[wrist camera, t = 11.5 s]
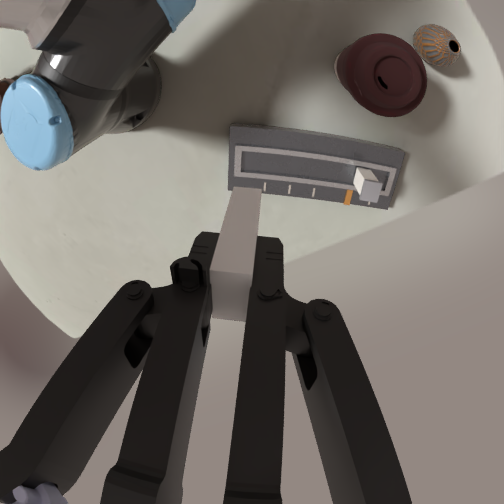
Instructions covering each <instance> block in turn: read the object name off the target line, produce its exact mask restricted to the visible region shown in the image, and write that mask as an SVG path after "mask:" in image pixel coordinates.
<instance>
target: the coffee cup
mask: <svg viewBox="0 0 504 504" xmlns="http://www.w3.org/2000/svg"><path fill="white" fill-rule="evenodd" d="M334 70H335V74H336V77H337V78H338V80H339V81H340V83H341V84H342V85H343V86H344V87H345V88H346V89H347V90H348V91H349V92H350V94H351V95H352V97H353V98H354V99H355V100H356V101H357V102H358V103H359V104H360V105H361V106H363V107H364V108H366V109H367V110H369V111H371V112H372V113H375V114H377V115H380V116H385V117H398V116H402V115H405V114H408V113H409V112H411V111H412V110H414V109H415V108H416V107H417V106H418V105H419V104H420V102H421V101H422V99H423V97H424V95H425V91H426V87H427V75H426V70H425V66H424V64H423V62H422V60H421V58H420V56H419V55H418V53H417V52H416V51H415V50H414V48H413V47H412V46H411V45H409V44H408V43H407V42H405V41H404V40H402V39H400V38H398V37H396V36H393V35H389V34H381V33H379V34H371V35H367V36H364V37H362V38H360V39H358V40H357V41H355V42H354V43H353V44H352V45H350V46H348V47H347V48H345V49H344V50H343V51H341V52H340V53H339V54H338V56H337V58H336V60H335V64H334Z"/></svg>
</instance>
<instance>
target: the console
mask: <svg viewBox="0 0 504 504" xmlns="http://www.w3.org/2000/svg"><path fill="white" fill-rule="evenodd" d="M404 155H405V152H403V151H402V150H401V149H399V148H395V147H391V146H387V145H383V144H378V143H374V142H369V141H364V140H360V139H355V138H349V137H344V136H338V135H333V134H327V133H320V132H314V131H307V130H299V129H291V128H283V127H273V126H263V125H250V124H235V123H232V124H231V126H230V140H229V170H228V190H231V191H233V187H246V188H257V189H262V193H265V194H275V195H284V196H293V197H302V198H310V199H318V200H326V201H333V202H340V203H344V204H345V205H350V204H354V205H361V206H367V207H374V208H380V209H386V210H388V207H389V204H390V201H391V198H392V195H393V192H394V189H395V186H396V182H397V179H398V176H399V172H400V169H401V165H402V162H403V158H404ZM357 167H358V168H364V169H369V170H371V171H372V172H373V174H374V175H375V177H376V178H377V179H378V181H379V182H382V183H383V185H382V188H381V192H380V195H379V198H378V202H377V203H375V202H369V201H363V200H360V199H359V197H360V195H359V193H358V191H357V189H356V187H355V185H354V183H353V182H354V178H355V173H356V169H357Z"/></svg>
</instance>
